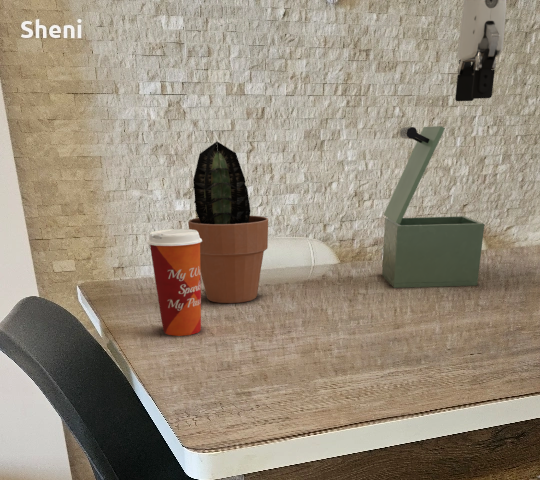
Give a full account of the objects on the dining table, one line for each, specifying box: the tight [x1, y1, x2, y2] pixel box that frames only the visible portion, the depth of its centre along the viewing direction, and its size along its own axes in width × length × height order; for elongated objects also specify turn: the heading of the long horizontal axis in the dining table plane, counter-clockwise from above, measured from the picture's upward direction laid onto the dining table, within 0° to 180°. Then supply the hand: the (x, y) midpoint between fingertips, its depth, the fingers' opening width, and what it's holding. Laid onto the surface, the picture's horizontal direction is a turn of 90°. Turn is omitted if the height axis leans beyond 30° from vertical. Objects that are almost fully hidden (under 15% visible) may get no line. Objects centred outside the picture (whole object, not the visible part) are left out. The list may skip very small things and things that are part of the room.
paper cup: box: [146, 228, 202, 337], centre depth 96 cm, size 8×8×14 cm
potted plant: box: [187, 141, 269, 304], centre depth 113 cm, size 14×14×25 cm
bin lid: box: [383, 125, 446, 224], centre depth 120 cm, size 16×13×5 cm
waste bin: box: [381, 215, 486, 289], centre depth 126 cm, size 16×13×11 cm
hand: (472, 99), depth 113 cm, fingers open, 9 cm apart
